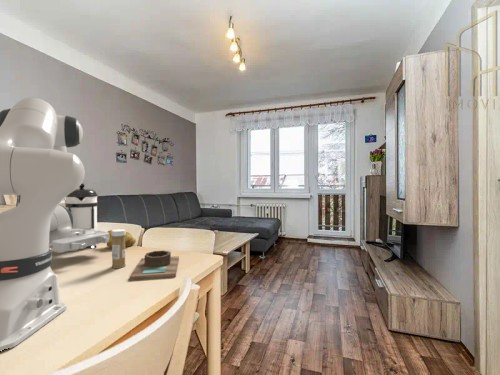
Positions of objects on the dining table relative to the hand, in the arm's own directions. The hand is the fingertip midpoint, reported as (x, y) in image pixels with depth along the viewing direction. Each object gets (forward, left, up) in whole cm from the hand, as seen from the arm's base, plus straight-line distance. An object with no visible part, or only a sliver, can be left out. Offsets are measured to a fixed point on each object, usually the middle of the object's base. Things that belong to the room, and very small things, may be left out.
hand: (95, 243), depth 96 cm
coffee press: (+26, +15, -7) cm, 31 cm away
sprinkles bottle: (-7, -10, -7) cm, 14 cm away
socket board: (-12, -24, -7) cm, 28 cm away
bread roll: (+22, -3, -8) cm, 24 cm away
